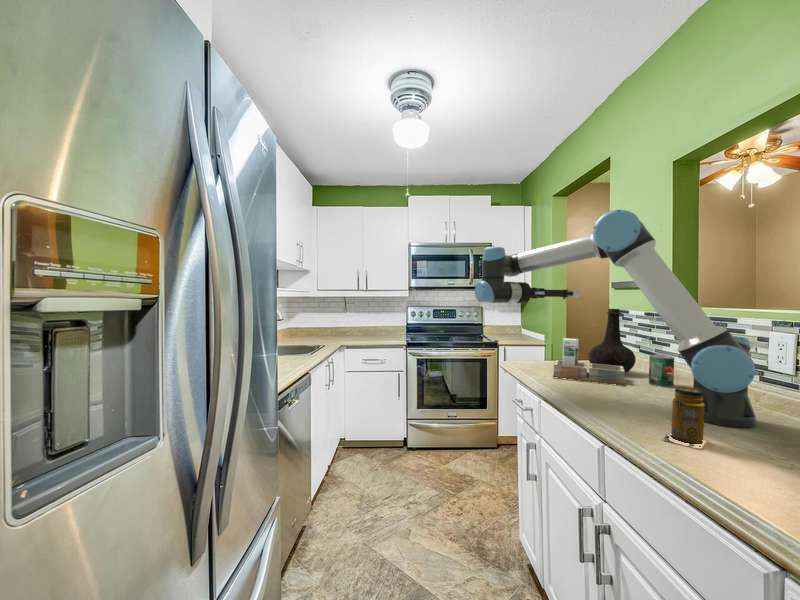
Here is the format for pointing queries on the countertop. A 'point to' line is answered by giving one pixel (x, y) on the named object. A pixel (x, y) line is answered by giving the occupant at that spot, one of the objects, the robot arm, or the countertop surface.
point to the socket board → (591, 372)
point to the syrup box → (570, 351)
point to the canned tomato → (661, 370)
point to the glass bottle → (612, 346)
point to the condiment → (687, 416)
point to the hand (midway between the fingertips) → (564, 293)
